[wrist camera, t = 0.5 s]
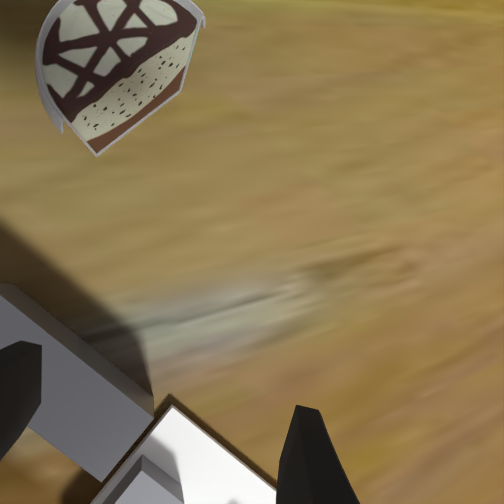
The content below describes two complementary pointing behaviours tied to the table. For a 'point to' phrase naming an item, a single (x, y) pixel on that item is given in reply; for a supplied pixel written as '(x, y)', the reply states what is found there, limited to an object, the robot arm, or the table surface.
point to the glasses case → (76, 389)
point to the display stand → (183, 470)
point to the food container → (113, 63)
